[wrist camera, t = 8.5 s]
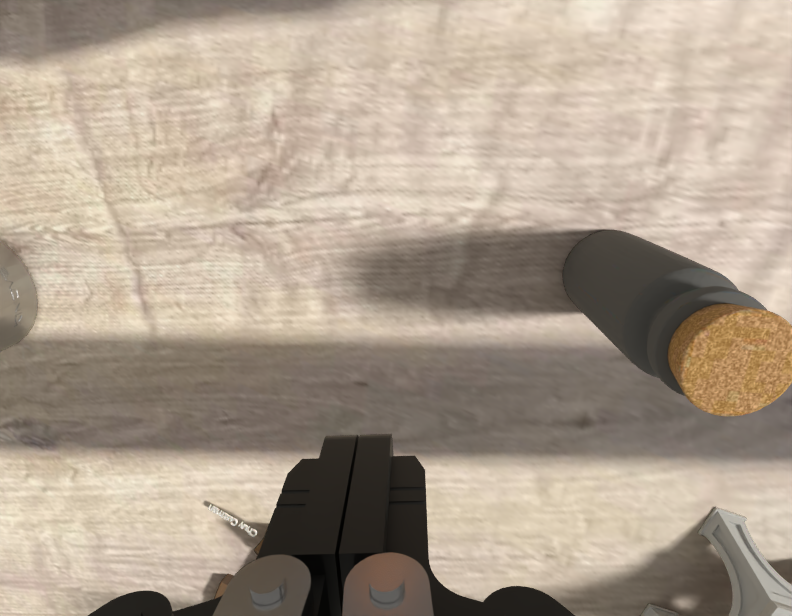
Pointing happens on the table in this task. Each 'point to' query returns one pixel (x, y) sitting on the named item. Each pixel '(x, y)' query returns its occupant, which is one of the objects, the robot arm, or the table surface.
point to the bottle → (681, 322)
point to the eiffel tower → (742, 570)
